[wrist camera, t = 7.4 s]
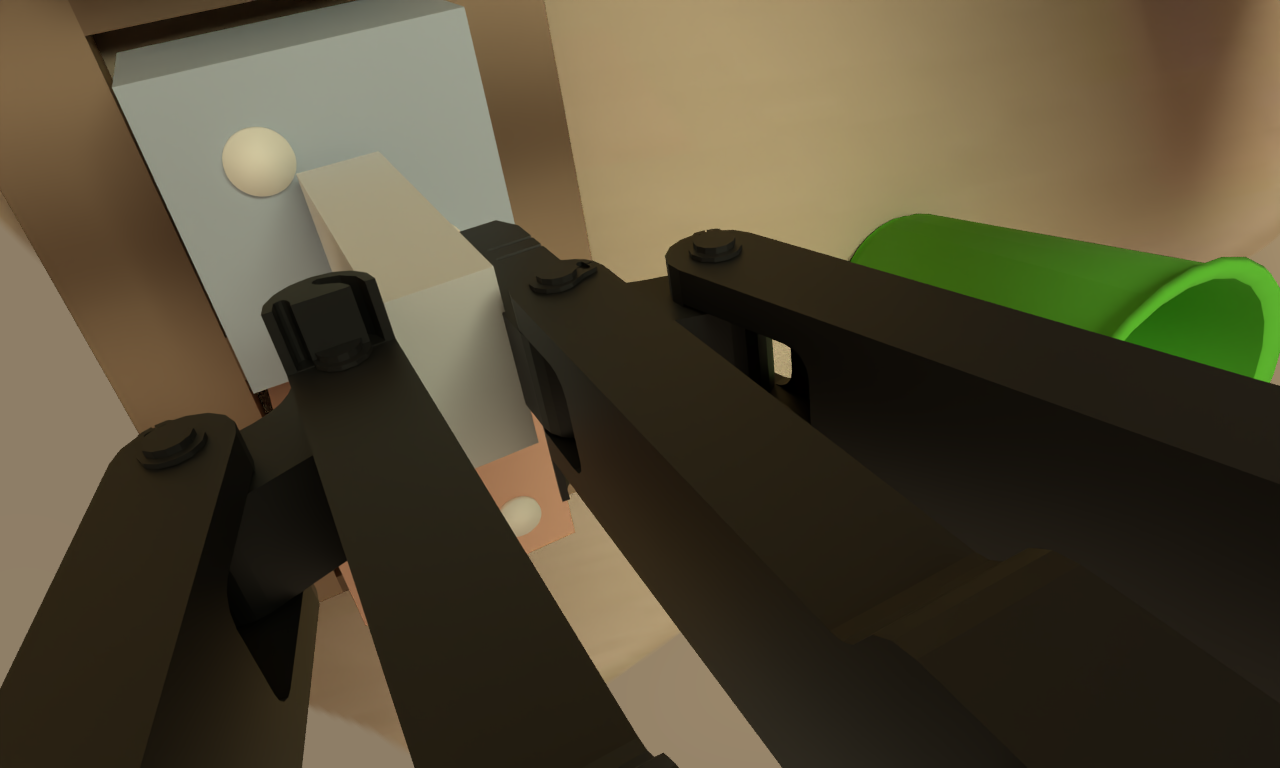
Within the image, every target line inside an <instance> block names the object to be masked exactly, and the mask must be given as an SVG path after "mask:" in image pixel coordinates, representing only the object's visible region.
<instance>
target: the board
mask: <svg viewBox="0 0 1280 768" xmlns="http://www.w3.org/2000/svg"><path fill="white" fill-rule="evenodd" d="M250 1H255V0H0V190H1V192H2V193H3V195H4V197H5V199H6V200H7V202H8V204H9V206H10V208H11V209H12V211H13V213H14V215H15V216H16V218H17V220H18V222H19V223H20V225H21V227H22V229H23V230H24V232H25V234H26V236H27V237H28V239H29V241H30V243H31V245H32V246H33V248H34V250H35V252H36V253H37V255H38V257H39V259H40V260H41V262H42V264H43V266H44V267H45V269H46V271H47V273H48V274H49V276H50V278H51V280H52V281H53V283H54V285H55V287H56V288H57V290H58V292H59V294H60V295H61V297H62V299H63V301H64V303H65V304H66V306H67V308H68V310H69V311H70V313H71V315H72V317H73V318H74V320H75V322H76V324H77V326H78V327H79V329H80V331H81V333H82V334H83V336H84V338H85V339H86V341H87V343H88V345H89V347H90V348H91V350H92V352H93V354H94V355H95V357H96V359H97V360H98V362H99V364H100V366H101V368H102V369H103V371H104V373H105V375H106V377H107V378H108V380H109V382H110V383H111V385H112V387H113V389H114V390H115V392H116V394H117V396H118V398H119V399H120V401H121V403H122V405H123V406H124V408H125V410H126V412H127V414H128V415H129V417H130V419H131V420H132V422H133V424H134V426H135V428H136V429H137V431H138V433H139V434H140V433H142V432H143V431H145V430H147V429H149V428H150V427H152V428H155V426H154V425H157V424H159V423H161V422H164V421H166V420H175V419H178V418H181V417H184V416H189V415H195V414H202V413H215V414H223V415H226V416H228V417H229V418H230V419H232V420H233V421H235V423H236V425H237V427H238V429H239V431H240V430H241V429H243V428H245V427H247V426H249V425H251V424H252V423H254V422H256V421H257V420H259V419H261V418H262V417H264V416H265V415H267V414H266V412H265V410H264V408H263V406H262V404H261V401H260V399H259V397H258V395H257V393H253V391H252V389H251V387H250V385H249V383H248V380H247V378H246V376H245V374H244V372H243V370H242V367H241V365H240V363H239V361H238V359H237V357H236V354H235V352H234V350H233V348H232V346H231V344H230V342H229V339H228V337H227V335H226V333H225V331H224V329H223V326H222V324H221V322H220V320H219V318H218V316H217V313H216V311H215V309H214V307H213V305H212V303H211V300H210V298H209V296H208V294H207V292H206V290H205V288H204V285H203V283H202V281H201V279H200V277H199V275H198V272H197V270H196V268H195V266H194V264H193V262H192V259H191V257H190V255H189V253H188V251H187V249H186V246H185V244H184V242H183V240H182V238H181V236H180V233H179V231H178V229H177V227H176V225H175V223H174V221H173V218H172V216H171V214H170V212H169V210H168V208H167V205H166V203H165V201H164V199H163V197H162V195H161V192H160V190H159V188H158V186H157V184H156V182H155V179H154V177H153V175H152V173H151V171H150V169H149V166H148V164H147V162H146V160H145V158H144V156H143V154H142V151H141V149H140V147H139V145H138V143H137V141H136V138H135V136H134V134H133V132H132V130H131V128H130V125H129V123H128V121H127V119H126V117H125V115H124V112H123V110H122V108H121V106H120V104H119V102H118V100H117V97H116V95H115V93H114V91H113V89H112V83H113V80H112V78H111V75H110V73H109V71H108V69H107V67H106V65H105V62H104V60H103V58H102V56H101V54H100V52H99V49H98V47H97V45H96V43H95V41H94V39H93V36H92V34H97V33H102V32H107V31H111V30H116V29H121V28H126V27H130V26H135V25H140V24H145V23H150V22H154V21H159V20H164V19H169V18H173V17H178V16H183V15H188V14H192V13H197V12H202V11H207V10H212V9H216V8H221V7H226V6H231V5H235V4H240V3H245V2H250ZM445 1H448V2H451V3H454V4H457V5H460V6H463V7H464V8H465V12H466V16H467V20H468V25H469V29H470V33H471V38H472V42H473V46H474V51H475V55H476V59H477V63H478V68H479V72H480V76H481V81H482V85H483V89H484V93H485V98H486V102H487V106H488V111H489V115H490V119H491V124H492V128H493V132H494V136H495V141H496V145H497V149H498V154H499V158H500V162H501V167H502V171H503V175H504V179H505V184H506V188H507V192H508V197H509V201H510V205H511V210H512V214H513V218H514V222H515V225H519V226H520V227H521V228H522V229H524V230H525V231H526V232H527V233H528V234H530V235H531V237H532V238H534V239H536V240H537V241H538V242H539V243H541V246H544V247H545V248H547V249H548V250H549V251H550V252H551V253H553V254H554V255H555V256H556V257H557V258H559V259H560V260H569V259H587V260H592V257H591V251H590V246H589V241H588V235H587V230H586V224H585V219H584V214H583V208H582V203H581V197H580V192H579V187H578V181H577V176H576V170H575V165H574V160H573V154H572V149H571V143H570V138H569V133H568V127H567V122H566V116H565V111H564V105H563V100H562V95H561V89H560V84H559V78H558V73H557V68H556V62H555V57H554V51H553V46H552V41H551V35H550V30H549V24H548V19H547V14H546V8H545V3H544V0H445ZM567 489H568V493H569V494H571V493H574V492H576V491H575V489H574V488H573V487H572V485H571V484H569V486H568V488H567ZM314 586H315V588H316V590H317V594H318V599H319V602H322V601H324V600H326V599H329V598H331V597H333V596H336V595H338V594H340V593H342V592H345V591H347V590H349V588H348V586H347V584H346V582H345V579H344V577H343V575H342V573H341V571H340V568H339V567H337V568H336V569H334V570H333V571H332V572H330V573H329V574H327V575H326V576H324V577H323V578H321V579H320V580H318V581H317V582H316V583H314Z"/></svg>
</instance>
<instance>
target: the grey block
mask: <svg viewBox="0 0 1280 768" xmlns="http://www.w3.org/2000/svg"><path fill="white" fill-rule="evenodd" d="M112 89H113V91H114V93H115V95H116V97H117V100H118V102H119V104H120V106H121V108H122V110H123V112H124V115H125V117H126V119H127V121H128V123H129V125H130V128H131V130H132V132H133V134H134V136H135V138H136V141H137V143H138V145H139V147H140V149H141V151H142V154H143V156H144V158H145V160H146V162H147V164H148V166H149V169H150V171H151V173H152V175H153V177H154V179H155V182H156V184H157V186H158V188H159V190H160V192H161V195H162V197H163V199H164V201H165V203H166V205H167V208H168V210H169V212H170V214H171V216H172V218H173V221H174V223H175V225H176V227H177V229H178V231H179V233H180V236H181V238H182V240H183V242H184V244H185V246H186V249H187V251H188V253H189V255H190V257H191V259H192V262H193V264H194V266H195V268H196V270H197V272H198V275H199V277H200V279H201V281H202V283H203V285H204V288H205V290H206V292H207V294H208V296H209V298H210V300H211V303H212V305H213V307H214V309H215V311H216V313H217V316H218V318H219V320H220V322H221V324H222V326H223V329H224V331H225V333H226V335H227V337H228V339H229V342H230V344H231V346H232V348H233V350H234V352H235V354H236V357H237V359H238V361H239V363H240V365H241V367H242V370H243V372H244V374H245V376H246V378H247V380H248V383H249V385H250V387H251V389H252V391H253V393H257V392H260V391H263V390H266V389H268V388H271V387H274V386H277V385H280V384H283V383H286V382H289V380H288V377H287V375H286V372H285V370H284V368H283V365H282V363H281V361H280V358H279V356H278V354H277V351H276V349H275V347H274V344H273V342H272V340H271V337H270V335H269V333H268V331H267V328H266V326H265V324H264V321H263V319H262V317H261V312H262V307H263V305H264V304H265V303H266V302H267V301H268V300H269V299H270V298H271V297H272V296H273V295H274V294H276V293H278V292H279V291H281V290H283V289H284V288H286V287H288V286H289V285H292V284H294V283H297V282H299V281H302V280H305V279H307V278H310V277H313V276H318V275H322V274H326V273H330V272H332V270H331V268H330V265H329V262H328V259H327V257H326V254H325V251H324V249H323V246H322V243H321V240H320V238H319V235H318V232H317V230H316V227H315V224H314V221H313V219H312V216H311V213H310V211H309V208H308V205H307V203H306V200H305V197H304V194H303V192H302V189H301V186H300V184H299V181H298V178H297V175H296V174H297V173H301V172H304V171H308V170H312V169H315V168H319V167H322V166H326V165H330V164H333V163H337V162H341V161H344V160H348V159H351V158H355V157H359V156H362V155H366V154H370V153H373V152H377V151H379V152H380V153H381V154H382V155H383V156H384V157H385V158H386V159H387V160H388V161H389V162H390V163H391V164H392V165H393V166H394V167H395V168H396V169H397V170H398V171H399V172H400V173H401V174H402V175H403V176H404V177H405V178H406V179H407V180H408V181H409V182H410V183H411V184H412V185H413V186H414V187H415V188H416V189H417V190H418V191H419V192H420V193H421V194H422V195H423V196H424V197H425V198H426V199H427V200H428V201H429V202H430V203H431V204H432V205H433V206H434V207H435V208H436V209H437V210H438V211H439V212H440V213H441V214H442V215H443V216H444V217H445V218H446V219H447V220H448V221H449V222H450V223H451V224H452V225H453V226H454V227H455V228H456V229H457V230H458V231H459V232H460V231H463V230H466V229H469V228H473V227H476V226H479V225H482V224H485V223H488V222H492V221H495V220H498V221H502V222H506V223H511V224H515V222H514V218H513V214H512V210H511V205H510V201H509V197H508V192H507V188H506V184H505V179H504V175H503V171H502V167H501V162H500V158H499V154H498V149H497V145H496V141H495V136H494V132H493V128H492V124H491V119H490V115H489V111H488V106H487V102H486V98H485V93H484V89H483V85H482V81H481V76H480V72H479V68H478V63H477V59H476V55H475V51H474V46H473V42H472V38H471V33H470V29H469V25H468V20H467V16H466V12H465V8H464V7H463V6H460V5H457V4H454V3H451V2H448V1H445V0H357V1H352V2H348V3H343V4H338V5H334V6H329V7H325V8H320V9H315V10H311V11H306V12H302V13H297V14H292V15H288V16H283V17H279V18H274V19H269V20H265V21H260V22H256V23H251V24H246V25H242V26H237V27H233V28H228V29H223V30H219V31H214V32H210V33H205V34H200V35H196V36H191V37H187V38H182V39H177V40H173V41H168V42H164V43H159V44H154V45H150V46H145V47H141V48H136V49H131V50H127V51H122V52H118V53H117V54H116V61H115V69H114V76H113V83H112Z"/></svg>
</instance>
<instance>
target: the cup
mask: <svg viewBox="0 0 1280 768" xmlns="http://www.w3.org/2000/svg"><path fill="white" fill-rule="evenodd" d="M850 262H853V263H856V264H860V265H863V266H867V267H870V268H874V269H877V270H880V271H884V272H887V273H891V274H894V275H898V276H901V277H905V278H908V279H912V280H915V281H919V282H922V283H925V284H929V285H932V286H936V287H939V288H943V289H946V290H950V291H953V292H957V293H960V294H963V295H967V296H970V297H974V298H977V299H981V300H984V301H988V302H991V303H995V304H998V305H1002V306H1005V307H1008V308H1012V309H1015V310H1019V311H1022V312H1026V313H1029V314H1033V315H1036V316H1040V317H1043V318H1047V319H1050V320H1053V321H1057V322H1060V323H1064V324H1067V325H1071V326H1074V327H1078V328H1081V329H1085V330H1088V331H1092V332H1095V333H1098V334H1102V335H1105V336H1109V337H1112V338H1116V339H1119V340H1123V341H1126V342H1130V343H1133V344H1137V345H1140V346H1143V347H1147V348H1150V349H1154V350H1157V351H1161V352H1164V353H1168V354H1171V355H1175V356H1178V357H1182V358H1185V359H1188V360H1192V361H1195V362H1199V363H1202V364H1206V365H1209V366H1213V367H1216V368H1220V369H1223V370H1226V371H1230V372H1233V373H1237V374H1240V375H1244V376H1247V377H1251V378H1254V379H1258V380H1261V381H1265V382H1268V383H1270V381H1271V379H1272V376H1273V374H1274V371H1275V367H1276V364H1277V360H1278V357H1279V353H1280V288H1279V286H1278V285H1277V283H1276V281H1275V280H1274V278H1273V277H1272V275H1271V274H1270V273H1269V271H1268V270H1267V269H1266V268H1265V267H1264V266H1262V265H1260V264H1258V263H1256V262H1254V261H1252V260H1250V259H1249V258H1247V257H1221V258H1218V259H1215V260H1212V261H1209V262H1207V263H1202V262H1196V261H1190V260H1185V259H1179V258H1174V257H1168V256H1162V255H1157V254H1151V253H1145V252H1140V251H1134V250H1128V249H1123V248H1117V247H1112V246H1106V245H1100V244H1095V243H1089V242H1083V241H1078V240H1072V239H1066V238H1061V237H1055V236H1050V235H1044V234H1038V233H1033V232H1027V231H1021V230H1016V229H1010V228H1005V227H999V226H993V225H988V224H982V223H976V222H971V221H965V220H959V219H954V218H948V217H943V216H937V215H931V214H914V215H910V216H903V217H900V218H896V219H892V220H891V221H889V222H887V223H885V224H884V225H882V226H880V227H879V228H877V229H876V230H875V231H874V232H873V233H872V234H870V235H869V236H868V237H867V238H866V239H865V241H864V242H863V243H862V244H861V246H860V247H859V248H858V249H857V251H856V252H855V254H854V256H853V258H852V259H851V261H850Z"/></svg>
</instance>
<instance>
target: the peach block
mask: <svg viewBox="0 0 1280 768" xmlns="http://www.w3.org/2000/svg"><path fill="white" fill-rule="evenodd" d="M290 389H291V386H290V383H289V382H286V383H283V384H280V385H277V386H274V387H271V388H268V392H269V395H270V399H271V403H272V407H273V409H275V408H276V407H277V406H278V405H279V404H280V403H281V402H282V401H283V400H284V399H285V397H286V396H287V395H288V393H289V391H290ZM531 414H532V418H533V422H534V426H535V430H536V434H537V438H538V441H539V443H536V444H534V445H532V446H529V447H527V448H524V449H522V450H519V451H517V452H514V453H512V454H510V455H507V456H505V457H502V458H500V459H497V460H495V461H492V462H490V463H488V464H485V465H483V466H480V467H478V468H475V470H476V471H477V473H478V475H479V476H480V478H481V480H482V481H483V483H484V485H485V486H486V488H487V489H488V491H489V493H490V494H491V496H492V498H493V499H494V501H495V503H496V504H497V506H498V508H499V509H500V511H501V512H502V514H503V516H504V517H505V519H506V521H507V522H508V524H509V526H510V527H511V529H512V531H513V532H514V534H515V535H516V537H517V539H518V540H519V542H520V544H521V545H522V547H523V549H524V550H525V552H526V554H528V553H530V552H532V551H534V550H537V549H539V548H541V547H543V546H546V545H548V544H550V543H552V542H555V541H557V540H559V539H561V538H563V537H566V536H568V535H570V534H572V533H575V530H574V526H573V522H572V517H571V513H570V509H569V505H568V501H564V502H562V499H561V496H560V493H559V489H558V485H557V481H556V477H555V473H554V469H553V465H552V461H551V457H550V453H549V449H548V445H547V441H546V437H545V433H544V429H543V426H542V424H541V423H540V422H539V420H538V419H537V418H536V417H535V415H534V414H533V413H532V412H531ZM339 568H340V571H341V573H342V575H343V577H344V579H345V582H346V584H347V586H348V588H349V590H350V592H351V595H352V597H353V599H354V601H355V603H356V606H357V608H358V610H359V612H360V614H361V616H362V619H363V621H364V623H365V625H366V626H367V625H368V623H367V620H366V617H365V614H364V611H363V608H362V605H361V601H360V598H359V595H358V592H357V589H356V586H355V583H354V580H353V577H352V574H351V571H350V568H349V565H348V562H347V561H346V562H345V563H343V564H342V565H340V566H339Z"/></svg>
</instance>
